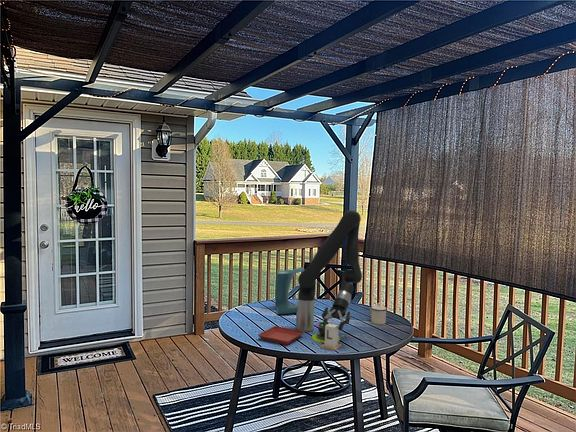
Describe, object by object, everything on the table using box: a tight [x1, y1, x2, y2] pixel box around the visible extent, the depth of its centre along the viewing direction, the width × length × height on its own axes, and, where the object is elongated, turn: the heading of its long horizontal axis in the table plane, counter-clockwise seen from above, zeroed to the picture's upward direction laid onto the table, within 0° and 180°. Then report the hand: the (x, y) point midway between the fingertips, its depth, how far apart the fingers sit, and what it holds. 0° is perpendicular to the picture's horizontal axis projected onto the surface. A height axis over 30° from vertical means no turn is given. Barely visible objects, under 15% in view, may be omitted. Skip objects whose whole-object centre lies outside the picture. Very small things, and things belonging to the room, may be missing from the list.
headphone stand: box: [274, 267, 316, 315], centre depth 273 cm, size 26×28×28 cm
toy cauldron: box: [311, 319, 341, 344], centre depth 221 cm, size 15×15×11 cm
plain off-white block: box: [325, 322, 340, 348], centre depth 207 cm, size 5×5×10 cm
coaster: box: [320, 343, 343, 352], centre depth 208 cm, size 8×8×1 cm
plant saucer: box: [257, 325, 304, 346], centre depth 218 cm, size 18×18×3 cm
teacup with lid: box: [369, 302, 387, 325], centre depth 253 cm, size 12×9×12 cm
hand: (331, 328), depth 208 cm, fingers open, 8 cm apart
